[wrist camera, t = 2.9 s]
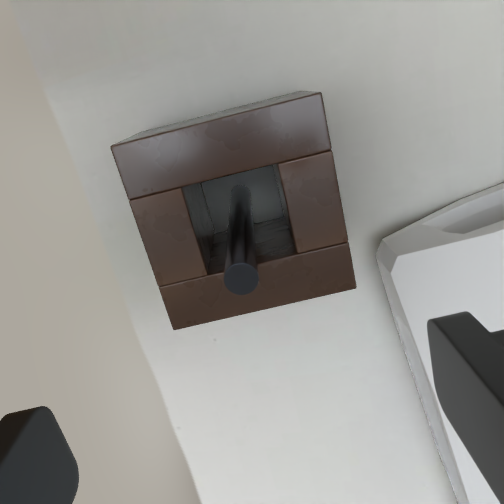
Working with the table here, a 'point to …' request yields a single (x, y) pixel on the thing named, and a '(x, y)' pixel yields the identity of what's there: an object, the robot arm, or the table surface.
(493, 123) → the table surface
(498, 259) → the document scanner
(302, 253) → the pen stand
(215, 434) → the table surface
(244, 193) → the stylus
